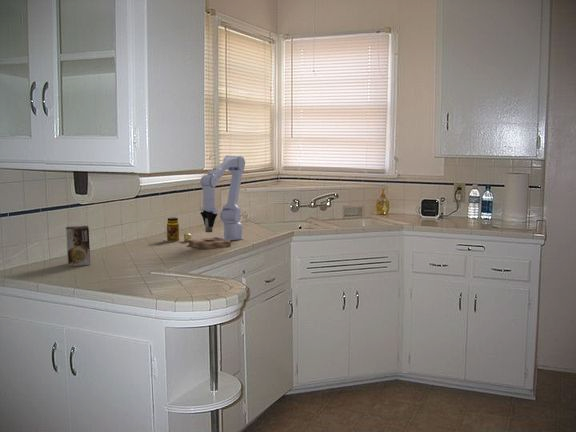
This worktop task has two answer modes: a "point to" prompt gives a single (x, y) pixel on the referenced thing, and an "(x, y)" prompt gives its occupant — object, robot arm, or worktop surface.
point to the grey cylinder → (207, 228)
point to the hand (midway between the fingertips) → (208, 226)
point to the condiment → (172, 230)
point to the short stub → (187, 237)
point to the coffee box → (78, 245)
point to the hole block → (209, 243)
